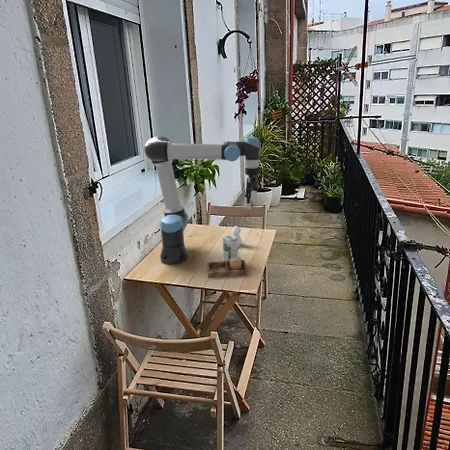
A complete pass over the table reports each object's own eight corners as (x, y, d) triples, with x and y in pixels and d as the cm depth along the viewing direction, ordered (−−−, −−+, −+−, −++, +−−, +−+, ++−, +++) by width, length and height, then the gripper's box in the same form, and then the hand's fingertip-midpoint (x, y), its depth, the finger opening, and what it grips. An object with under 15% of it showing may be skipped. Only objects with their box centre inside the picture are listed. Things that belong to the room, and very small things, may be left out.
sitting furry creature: (224, 244, 223) (224, 225, 219) (235, 241, 228) (235, 222, 224) (234, 249, 216) (234, 229, 212) (246, 245, 221) (245, 226, 217)
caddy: (208, 279, 182) (208, 272, 181) (207, 268, 193) (207, 262, 192) (247, 276, 183) (247, 270, 182) (244, 266, 195) (244, 260, 193)
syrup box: (223, 262, 199) (222, 237, 195) (231, 259, 203) (231, 234, 198) (229, 266, 195) (229, 240, 190) (238, 263, 198) (238, 237, 194)
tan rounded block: (230, 273, 185) (230, 261, 184) (229, 268, 191) (229, 257, 189) (242, 272, 186) (241, 261, 184) (240, 267, 191) (240, 256, 189)
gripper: (253, 171, 189) (253, 212, 196) (263, 163, 211) (262, 199, 218) (239, 171, 191) (239, 211, 198) (250, 162, 213) (250, 199, 220)
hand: (251, 205), depth 208 cm, fingers open, 13 cm apart
